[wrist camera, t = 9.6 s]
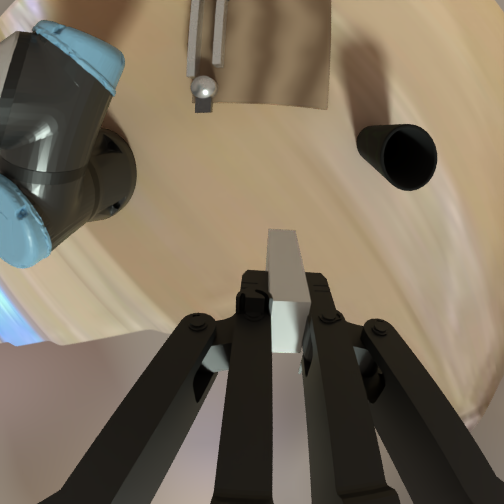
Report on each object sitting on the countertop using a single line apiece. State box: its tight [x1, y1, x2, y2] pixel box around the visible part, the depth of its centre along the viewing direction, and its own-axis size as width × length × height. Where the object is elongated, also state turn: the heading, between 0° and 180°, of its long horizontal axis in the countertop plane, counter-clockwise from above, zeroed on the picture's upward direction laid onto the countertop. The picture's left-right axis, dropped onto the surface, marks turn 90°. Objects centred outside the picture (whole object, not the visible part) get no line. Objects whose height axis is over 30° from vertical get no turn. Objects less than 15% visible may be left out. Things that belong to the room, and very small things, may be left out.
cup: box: [357, 124, 437, 191], centre depth 32 cm, size 8×8×12 cm
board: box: [192, 0, 331, 110], centre depth 31 cm, size 18×18×2 cm
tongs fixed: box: [187, 0, 218, 113], centre depth 29 cm, size 4×20×3 cm, turn 178°
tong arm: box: [212, 0, 230, 68], centre depth 27 cm, size 1×13×3 cm, turn 178°
